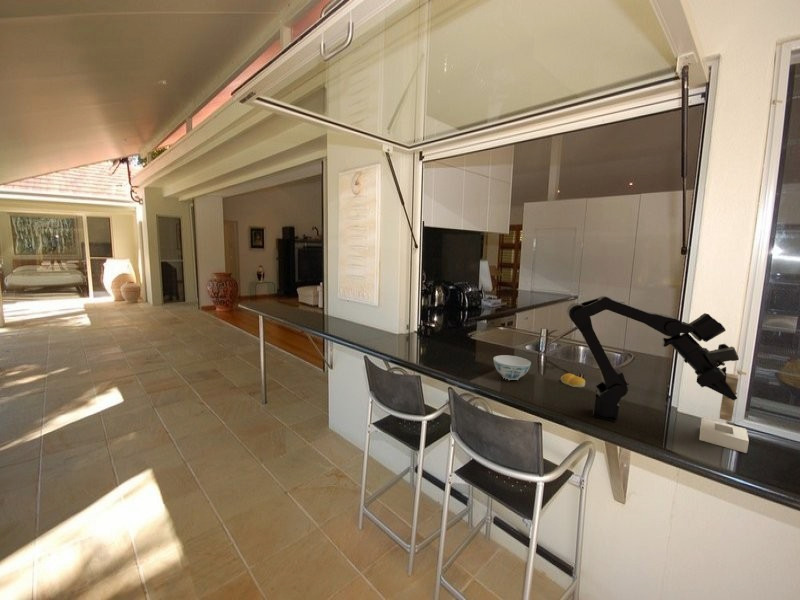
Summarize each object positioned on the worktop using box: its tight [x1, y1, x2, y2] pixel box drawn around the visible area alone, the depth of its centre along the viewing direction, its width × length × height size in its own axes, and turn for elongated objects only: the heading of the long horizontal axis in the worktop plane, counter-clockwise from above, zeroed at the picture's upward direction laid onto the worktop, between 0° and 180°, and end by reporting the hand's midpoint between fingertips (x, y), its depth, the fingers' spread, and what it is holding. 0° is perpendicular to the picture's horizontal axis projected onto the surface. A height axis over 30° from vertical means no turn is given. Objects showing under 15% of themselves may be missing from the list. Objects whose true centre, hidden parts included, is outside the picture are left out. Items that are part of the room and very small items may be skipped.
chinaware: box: [492, 354, 532, 381], centre depth 150 cm, size 15×15×8 cm
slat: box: [718, 372, 739, 422], centre depth 102 cm, size 2×4×12 cm, turn 138°
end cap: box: [699, 417, 750, 454], centre depth 104 cm, size 10×10×4 cm
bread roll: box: [560, 372, 586, 388], centre depth 147 cm, size 8×9×4 cm
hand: (735, 397), depth 101 cm, fingers closed on slat, 4 cm apart
